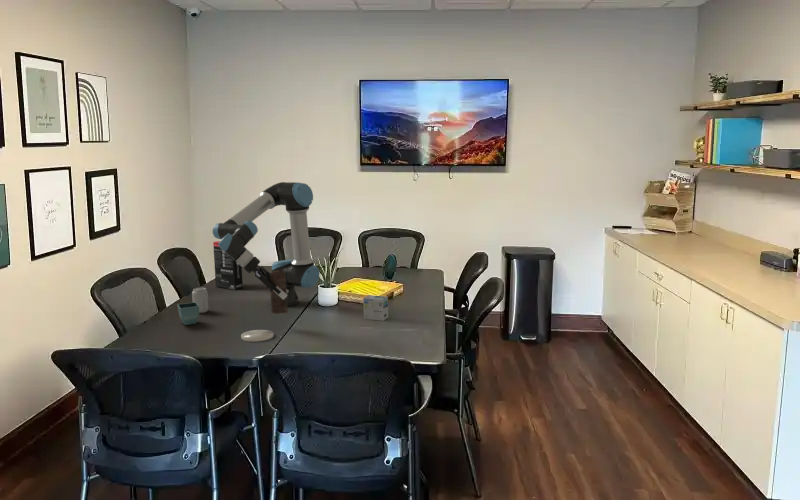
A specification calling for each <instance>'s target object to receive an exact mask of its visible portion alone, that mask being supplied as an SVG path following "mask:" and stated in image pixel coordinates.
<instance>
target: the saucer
mask: <svg viewBox="0 0 800 500" xmlns="http://www.w3.org/2000/svg"><path fill="white" fill-rule="evenodd" d="M274 335H275V334H274V332H273V331H272V330H270V329H269V330H268V329H253V330H248V331H244V332H243V333H241V335H240V339H241V340H242V341H244V342H250V343H252V342H253V343H254V342H255V343H256V342H263V341H268V340H271V339H273V338H274Z"/></svg>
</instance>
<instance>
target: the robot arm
mask: <svg viewBox="0 0 800 500" xmlns="http://www.w3.org/2000/svg"><path fill="white" fill-rule="evenodd" d="M313 200H314V194H313V190H312V188H311V186H309V185H308V184H307V183H303V182H293V181H292V182H290V181H289V182H284V181H282V182H277V183H275V184H273V185H271V186H269V187H267V188H266V189H264V190H262V191H261V193H260V194H259V196H258V197H257V198H255V199H254V200H253V201H252V202H250V203H248V204H247V205H246V206H245V207H244V208H243V209H240V210H239V211H238V212H237V213H235V214H234V215H233V216H231V217H230V218H228V219H227V220H226V221H224V222H223V223H222V222H218V223H217V222H216V224H214V226H213V227H212V235H213V237H214V238H215V239H219V241H220V242H219V243H218V245H219V247H220V248H221V249H222V250H223V251H224V252H225V253H226V254H228V255H229V256H230V257H231V258H232V259H233V260H235V261H236V262H237V265H240V266H241V267H242V268H243V270H244V271H246V273H248V274H250V273H252V272H253V273H254V276H255V277H256V278H257V279H258V280H259V281H260V282H262V283H263V285H265V287H266V288H268V289H269V292H270V291H272V290H273V291H274V292H275V293H276V294H277V295H278V296H280V297H281V298H282V299H283V300H284V299H285V298H286V297H287V307H292V306H297V305H298V304H299V303H300V298H299V295H298V292H297V291H296V290H297V289H296V287H300V288H305V289H307V288H309V289H310V288H313V287H314V286H316V284H317V283H318V281H319V279H320V276H321V275H320V268H319V267H318V266H317V265H315V262H314V261H315V260H314V259H313V258H312V257H311V250H310V249H311V248H310V247H311V246H310V237H309V227H308V226H309V225H308V215H307V212H308V211H309V209H310V206H311V205H312V204H313ZM277 206H285V211H286V212H287V213H288V214H289V223H290V235H291V244H292V245H291V246H292V253H293V254H292V255H293V259H282V260H277V261H274V262H273V263H272V264H271V272H270V271H269V270H267V269H266V268H265V267H264V266H263V265H259V264H260V263H261V260H260V259H258V257H256V256H254V254H253V253H252V252H251V251H250V250H249V249H247V247H246V246H247V245H248V243H249V242H250V241H251V240H252V239H253V238H254V237H255V235H256V234H258V231H259V229H258V226H257V225H256V224H255V223H254V222H253V221H255V220H256V219H257V218H258V217H259V216H261V215H263V214H264V213H266V212H267V211H268V210H273V209H274V208H275V207H277ZM273 271H285V276H286V293H285V292H283V291H282V290H281V289H280V288H279V287H278V286H276V285H275V284H274V283H273V282H272V281H271V280H270V273H272V272H273ZM269 305H270V306H271V297H270V298H269Z"/></svg>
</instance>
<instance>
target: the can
mask: <svg viewBox="0 0 800 500" xmlns="http://www.w3.org/2000/svg"><path fill="white" fill-rule="evenodd" d="M208 292H209V291H208V290H207V288H206V287H195V288H193V290H192V292H191V296H192V298H191V300H192V303H193V302H196V303H197V304H198V305H199V314H204V313H207V312H208V311H209V296H208Z"/></svg>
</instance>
